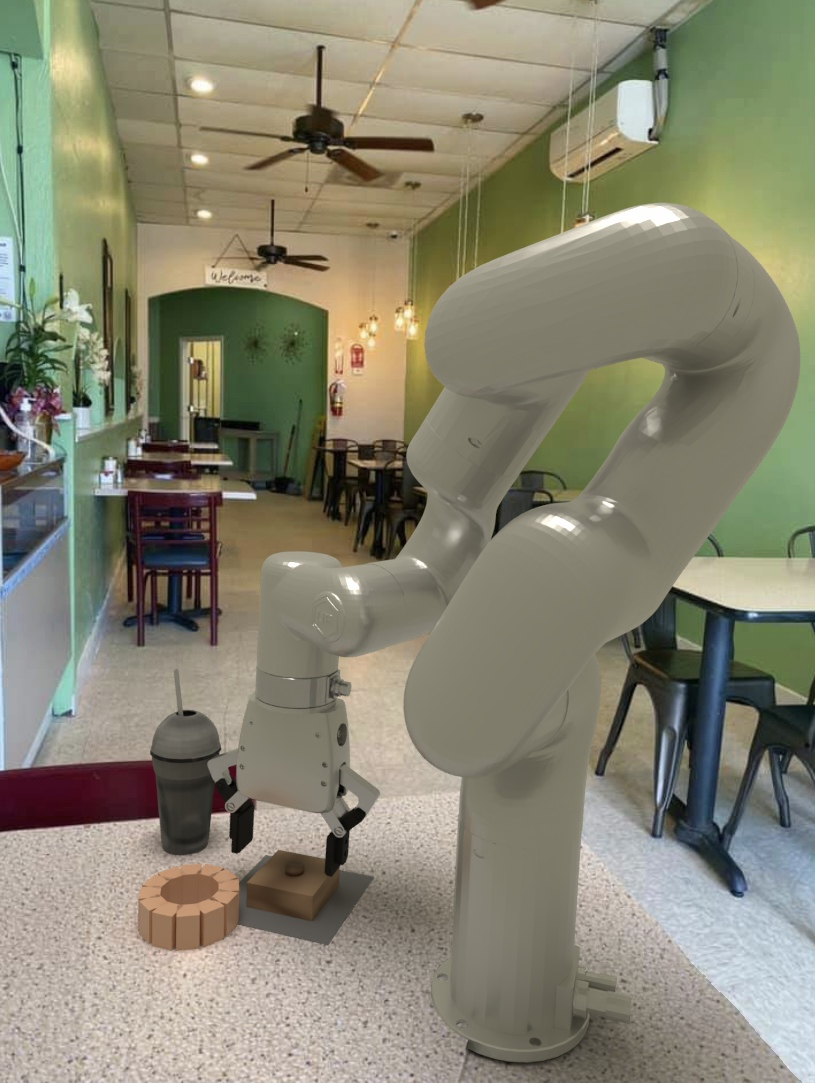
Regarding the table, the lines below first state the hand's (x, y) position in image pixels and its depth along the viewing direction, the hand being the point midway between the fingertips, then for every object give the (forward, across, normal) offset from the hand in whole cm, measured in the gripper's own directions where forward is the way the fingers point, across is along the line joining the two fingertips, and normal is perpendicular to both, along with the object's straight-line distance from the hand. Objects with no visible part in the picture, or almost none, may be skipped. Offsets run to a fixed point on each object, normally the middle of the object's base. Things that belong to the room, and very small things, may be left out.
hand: (287, 857), depth 78 cm
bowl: (+5, +6, +7) cm, 10 cm away
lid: (+4, -1, 0) cm, 4 cm away
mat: (+4, -1, 0) cm, 5 cm away
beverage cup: (+5, +14, -5) cm, 16 cm away
